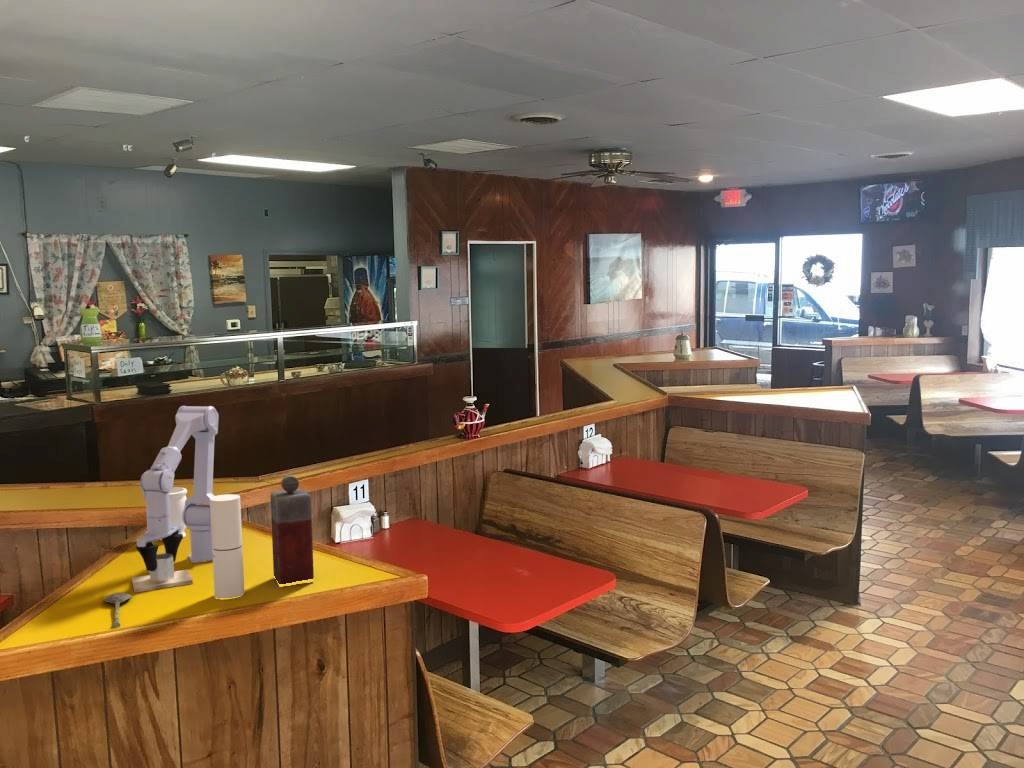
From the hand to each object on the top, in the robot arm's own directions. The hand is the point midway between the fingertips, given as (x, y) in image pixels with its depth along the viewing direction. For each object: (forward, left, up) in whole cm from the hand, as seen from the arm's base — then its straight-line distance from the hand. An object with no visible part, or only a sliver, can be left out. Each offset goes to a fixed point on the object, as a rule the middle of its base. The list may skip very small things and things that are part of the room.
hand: (161, 566), depth 227 cm
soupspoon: (+12, +17, -5) cm, 22 cm away
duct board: (0, 0, -4) cm, 4 cm away
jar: (-7, -45, -5) cm, 46 cm away
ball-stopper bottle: (-31, +14, -5) cm, 34 cm away
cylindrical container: (-14, +19, -5) cm, 24 cm away
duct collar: (0, 0, -3) cm, 3 cm away
